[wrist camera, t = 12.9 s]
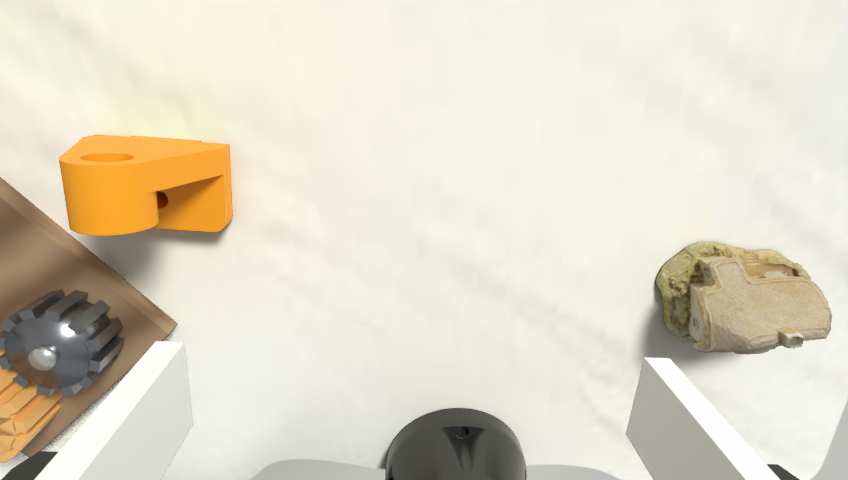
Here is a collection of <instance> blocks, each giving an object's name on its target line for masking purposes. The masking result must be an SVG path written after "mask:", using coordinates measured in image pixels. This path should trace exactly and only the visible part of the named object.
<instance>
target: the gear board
mask: <svg viewBox="0 0 848 480" xmlns="http://www.w3.org/2000/svg"><path fill="white" fill-rule="evenodd" d="M60 289H63V291H64V293H65V295H66V296H67V295H68V294H70V293H71V292H73V291H74V290H79V291H83V292H87V293H88V300H87V301H88V302H90V303H92V304H95V303H96V302H97V301H99V300H100V299H101V300H102V301H104V302H105V303H106V304H107V305H109V306H110V308H109V309H108V310H107V311H106V312H105V314H106V315H107V316H108V317H109V319H110V318H115V317H119V319H120V321H121V323H122V326H123V328H122V329H121V330H120V331H119V332H118V333H117V334H116V335H115V336H119V337H123V338H125V340H124V346H123V348H122V349H121V351H120V352H119V353H118V354H117V356H118V357H117V358H116V359H115V361H114V362H113V363H112V364H111V365H110V366H109V367H108V368H107V369H106V370H105V371H104V372H103V373H102V374H101V375H100V376H99V377H98V378H97V379H96V380H95V381H94V382H93V383H92V384H91V385H90V386H89V387H88V388H87V389H84V388H83V387H82V388H81V389H80V390H79V391H78V392H77V393H76V394H75V395H70V396H65V397H62V398H61V399H60V400H59V401H57V402H56V404H59V405H61V407H60V409H59V411H58V413H57V414H56V415H55V416H54V417H53V418H52V419H51V420H50V422H49V423H48V424H47V425H46V426H45V427H44V428H43V429H42V430H41V431H40V432H39V433H38V434H37V435H36V436H35V437H34V438H33V439H32V440H31V441H30V442H29V443H28V444H27V445H26V446H25V447H24V448H23V449H22V450H21V451H20V452H22V453H23V454H25V455H26V456H28V457H29V458H30V457H31V456H33V455H34V454H36V453H37V452H40V451H41V450H42V449H43V448H44V447H45V446H46V445H47V444H48V443H49V442H51V441H52V440H53V439H54V438H55V437H56V436H57V435H58V434H59V433H60V432H62V431H63V430H64V429H65V428H66V427H67V426H68V425H69V424H70V423H71V422H73V421H74V420H75V419H76V418H77V417H78V416H79V415H80V414H81V413H83V412H84V411H85V410H86V409H87V408H88V407H89V406H90V405H91V404H92V403H94V402H95V401H96V400H97V399H98V398H99V397H100V396H101V395H102V394H103V393H105V392H106V391H107V390H108V389H109V388H110V387H111V386H112V385H113V384H114V383H116V382H117V381H118V380H119V379H120V378H121V377H122V376H123V375H124V374H125V373H127V372H128V371H129V370H130V369H131V368H132V367H133V366H134V365H135V364H136V363H137V362H138V361H139V360H140V359H141V358H142V357H143V355H144V354H145V353H146V352H147V351H148V350H149V349H150V347H151V346H152V345H153V344H154V343H155V342H156V341H162V340H163V339H164V338H165V337H166V336H167V335H168V334H169V333H170V332H171V331H172V330H173V329H174V328H175V326H176V325H177V324H178V323H176V322H175V321H174V320H173V319H171V318H170V317H169V316H168V315H167V314H165V313H164V312H163V311H162V310H161V309H159V308H158V307H157V306H156V305H155V304H153V303H152V302H151V301H150V300H148V299H147V298H146V297H145V296H144V295H142V294H141V293H140V292H139V291H138V290H136V289H135V288H134V287H133V286H131V285H130V284H129V283H128V282H127V281H125V280H124V279H123V278H122V277H121V276H119V275H118V274H117V273H116V272H115V271H113V270H112V269H111V268H110V267H108V266H107V265H106V264H105V263H104V262H102V261H101V260H100V259H99V258H98V257H96V256H95V255H94V254H93V253H91V252H90V251H89V250H88V249H87V248H85V247H84V246H83V245H82V244H81V243H79V242H78V241H77V240H76V239H74V238H73V237H72V236H71V235H70V234H68V233H67V232H66V231H65V230H64V229H62V228H61V227H60V226H59V225H58V224H56V223H55V222H54V221H53V220H51V219H50V218H49V217H48V216H47V215H45V214H44V213H43V212H42V211H41V210H39V209H38V208H37V207H36V206H34V205H33V204H32V203H31V202H30V201H28V200H27V199H26V198H25V197H24V196H22V195H21V194H20V193H19V192H17V191H16V190H15V189H14V188H13V187H11V186H10V185H9V184H8V183H7V182H5V181H4V180H3V179H2V178H1V177H0V325H1V324H2V323H3V322H4V321H5V320H6V319H7V318H8V317H10V316H11V315H13V314H14V313H16V312H17V311H19V310H20V309H22V308H24V307H25V306H27V305H28V304H30V303H31V302H33V301H34V300H36V299H37V298H39V297H43V296H44V295H46V294H47V293H49V292H50V291H55V290H60ZM3 330H4V329H2V328H1V327H0V332H2V331H3ZM0 352H5V350H3V349H0Z"/></svg>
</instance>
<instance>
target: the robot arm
mask: <svg viewBox="0 0 848 480" xmlns="http://www.w3.org/2000/svg"><path fill="white" fill-rule="evenodd" d="M192 425H193V417H192V408H191V398H190V389H189V379H188V370H187V360H186V350H185V342H167V341H156V342H155V343H154V344H153V345H152V346H151V347H150V349H149V350H148V351H147V352H146V353H145V354H144V355H143V357H142V358H141V359H140V360H139V361H138V362H137V363H136V365H135V366H134V367H133V368H132V369H131V370H130V371H129V373H128V374H127V375H126V376H125V377H124V378H123V379H122V380H121V382H120V383H119V384H118V385H117V386H116V387H115V388H114V390H113V391H112V392H111V393H110V394H109V395H108V396H107V398H106V399H105V400H104V401H103V402H102V403H101V404H100V405H99V407H98V408H97V409H96V410H95V411H94V412H93V413H92V415H91V416H90V417H89V418H88V419H87V420H86V421H85V423H84V424H83V425H82V426H81V427H80V428H79V429H78V430H77V432H76V433H75V434H74V435H73V436H72V437H71V438H70V440H69V441H68V442H67V443H66V444H65V445H64V446H63V448H62V449H61V450H60V451H59V452H37V453H36V454H34V455H33V456H31V457H30V458H28V459H27V460H25V461H24V462H22V463H20V464H19V465H17V466H16V467H14V468H13V469H11V470H10V471H9V472H8V474H7V475H6V476H5V477H4V478H3V479H2V480H161V479H162V477H163V476H164V474H165V472H166V470H167V469H168V467H169V465H170V463H171V462H172V460H173V458H174V456H175V455H176V453H177V451H178V450H179V448H180V446H181V444H182V443H183V441H184V439H185V437H186V436H187V434H188V432H189V430H190V429H191V427H192ZM626 435H627V437H628V439H629V440H630V442H631V443H632V445H633V447H634V448H635V450H636V452H637V453H638V455H639V457H640V458H641V460H642V462H643V463H644V465H645V467H646V468H647V470H648V471H649V473H650V475H651V476H652V478H653V480H799V479H798V478H796V477H795V476H793V475H792V474H790V473H789V472H788V471H786V470H785V469H783V468H782V467H780V466H779V465H774V464H766V463H765V462H764V461H763V460H762V459H761V458H760V457H759V456H758V455H757V454H756V452H755V451H754V450H753V449H752V448H751V447H750V446H749V445H748V444H747V443H746V442H745V440H744V439H743V438H742V437H741V436H740V435H739V434H738V433H737V432H736V431H735V429H734V428H733V427H732V426H731V425H730V424H729V423H728V422H727V421H726V420H725V418H724V417H723V416H722V415H721V414H720V413H719V412H718V411H717V410H716V409H715V408H714V406H713V405H712V404H711V403H710V402H709V401H708V400H707V399H706V398H705V397H704V395H703V394H702V393H701V392H700V391H699V390H698V389H697V388H696V387H695V386H694V384H693V383H692V382H691V381H690V380H689V379H688V378H687V377H686V376H685V375H684V374H683V372H682V371H681V370H680V369H679V368H678V367H677V366H676V365H675V364H674V363H673V361H672V360H671V359H670V358H647V357H644V361H643V365H642V369H641V373H640V377H639V382H638V386H637V390H636V394H635V398H634V402H633V406H632V410H631V414H630V419H629V423H628V427H627V431H626ZM526 476H527V475H526V464H525V460H524V456H523V453H522V450H521V447H520V444H519V441H518V439H517V437H516V436H515V434H514V433H513V432H512V430H511V429H510V428H509V427H508V426H507V425H506V424H505V423H503V422H502V421H501V420H499V419H497V418H496V417H494V416H492V415H490V414H487V413H485V412H481V411H478V410H473V409H465V408H451V409H444V410H439V411H435V412H432V413H429V414H426V415H424V416H422V417H420V418H418V419H416V420H414V421H413V422H411V423H410V424H409V425H407V426H406V427H405V428H404V429H403V430H402V431H401V432H400V433H399V434H398V435H397V436H396V438H395V439H394V441H393V442H392V444H391V446H390V448H389V451H388V454H387V459H386V479H385V480H526Z"/></svg>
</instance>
